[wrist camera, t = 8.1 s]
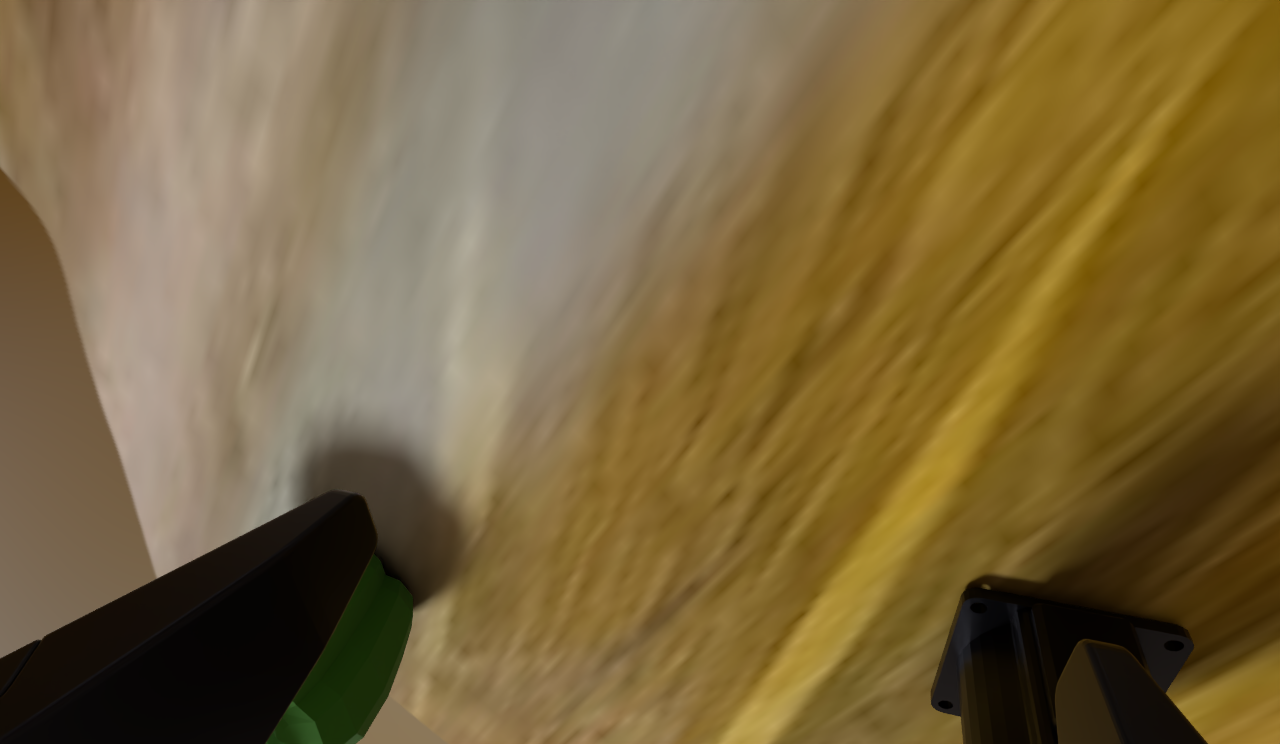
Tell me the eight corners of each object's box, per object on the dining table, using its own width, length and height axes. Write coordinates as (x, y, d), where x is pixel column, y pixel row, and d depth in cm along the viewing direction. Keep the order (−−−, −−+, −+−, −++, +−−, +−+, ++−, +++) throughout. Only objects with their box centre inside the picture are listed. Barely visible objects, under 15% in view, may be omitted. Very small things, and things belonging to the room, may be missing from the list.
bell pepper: (255, 530, 34) (64, 718, 26) (355, 492, 30) (164, 702, 22) (365, 640, 37) (223, 840, 29) (470, 620, 33) (338, 846, 25)
